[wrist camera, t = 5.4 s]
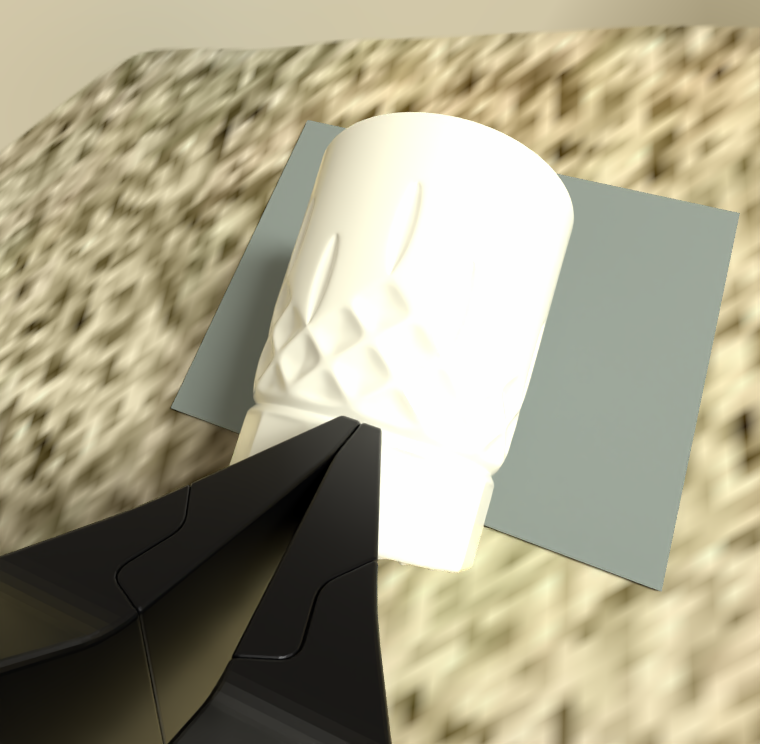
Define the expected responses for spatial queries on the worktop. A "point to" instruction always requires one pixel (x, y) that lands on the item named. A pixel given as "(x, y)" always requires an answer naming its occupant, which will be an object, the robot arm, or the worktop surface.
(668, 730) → the worktop surface
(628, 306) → the mat
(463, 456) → the white cup
